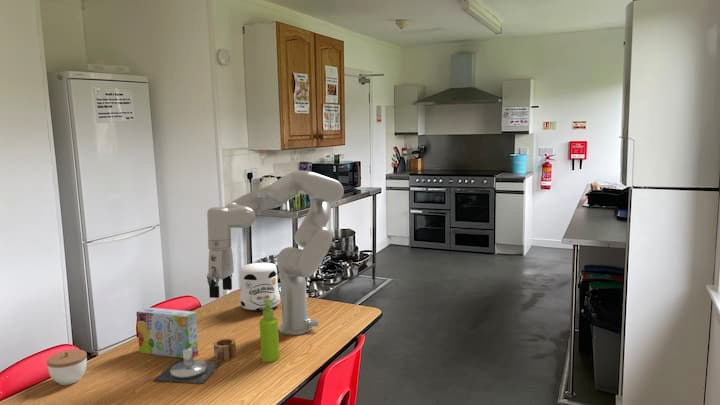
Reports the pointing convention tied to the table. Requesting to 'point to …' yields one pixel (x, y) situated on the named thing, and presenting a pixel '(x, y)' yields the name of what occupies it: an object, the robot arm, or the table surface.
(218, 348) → the ring
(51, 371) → the lidded jar
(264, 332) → the soap dispenser
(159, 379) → the grey peg stand
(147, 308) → the snack box
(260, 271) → the milk container
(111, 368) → the table surface
